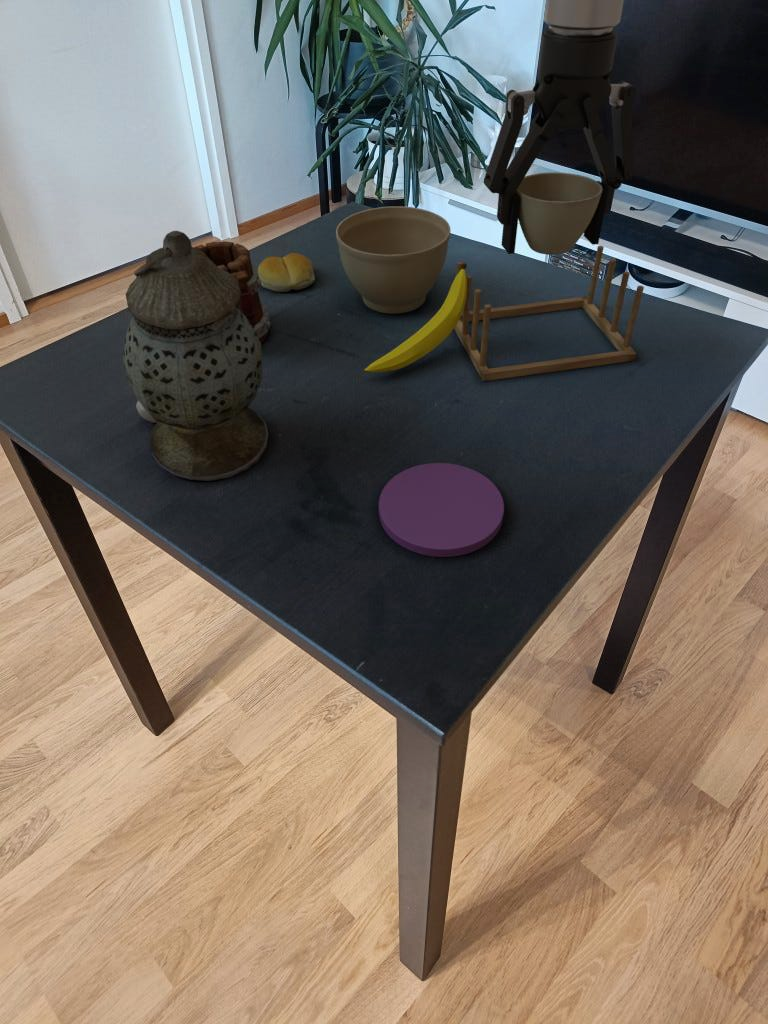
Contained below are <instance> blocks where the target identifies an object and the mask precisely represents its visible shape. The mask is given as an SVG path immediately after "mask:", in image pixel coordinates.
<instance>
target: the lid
mask: <svg viewBox="0 0 768 1024" xmlns="http://www.w3.org/2000/svg"><path fill="white" fill-rule="evenodd" d="M504 515H505V504H504V498H503V496H502V494H501V492H500V490H499V488H498V487H497V486H496V485H495V483H493V481H492V480H491V479H489V478H488V477H486V476H485V475H484V474H482V473H480V472H479V471H477V470H474V469H472V468H470V467H467V466H463V465H460V464H455V463H446V462H432V463H431V462H430V463H424V464H423V463H422V464H419V465H415V466H412V467H410V468H409V467H408V468H406V469H404V470H402V471H401V472H399V473H397V474H396V475H395V476H393V477H392V478H391V479H390V480H388V482H387V483H386V484H385V485H384V486H383V488H382V490H381V493H380V495H379V499H378V516H379V522H380V524H381V527H382V528H383V530H384V532H385V533H386V534H387V536H388V537H389V538H390V539H391V540H392V541H394V542H395V543H396V544H397V545H399V546H400V547H402V548H404V549H405V550H408V551H410V552H413V553H416V554H419V555H423V556H427V557H433V558H453V557H459V556H463V555H464V556H465V555H469V554H471V553H473V552H476V551H478V550H480V549H482V548H483V547H485V546H486V545H488V544H489V543H490V542H492V540H493V539H494V538H495V537H496V536H497V534H499V532H500V530H501V527H502V525H503V522H504V521H503V520H504Z"/></svg>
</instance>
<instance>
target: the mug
mask: <svg viewBox="0 0 768 1024" xmlns="http://www.w3.org/2000/svg"><path fill="white" fill-rule="evenodd" d="M194 248H197V249H199V250H200V251H202V252H203V253H204V254H205V255H206V256H207V257H208V258H209V259H210V260H211V261H212V262H213V263H214V264H215V265H216V266H217V267H219V268H220V269H222V270H224V271H226V272H228V273H230V274H231V275H232V276H233V277H234V278H235V279H236V280H237V281H238V284H239V287H240V291H241V298H240V302H239V305H238V306H237V307H236V308H237V309H239V310H240V311H241V312H242V313H243V314H244V315H245V317H246V318H247V320H248V321H249V323H250V324H251V326H252V328H253V330H254V331H255V333H256V335H257V337H258V339H259V341H260V343H261V344H262V343H263V342H264V341H265V340H266V338H267V336H268V333H269V329H270V327H271V321H270V316H269V309H268V307H265V306H264V305H263V304H262V303H261V299H260V294H259V291H258V290H259V289H260V287H261V286H262V285H261V281H260V278H259V274H258V267H255V266H254V265H253V264H252V260H251V259H252V258H251V255H250V250H249V249H248V248H247V247H246V246H245V245H243V244H241V243H235V242H232V241H226V240H225V241H224V240H223V241H210V242H206V244H205V246H204V245H203V244H199V245H196V246H194Z"/></svg>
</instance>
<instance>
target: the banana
mask: <svg viewBox="0 0 768 1024" xmlns="http://www.w3.org/2000/svg"><path fill="white" fill-rule="evenodd" d="M467 267H468V265H467V263H466V262H463V264H462V269H461V270H460V272H459V273H458V274H457V273H456V276H455V278H454V280H452V281H453V282H452V283H451V286H450V289H449V291H448V292H447V296H446V298H445V300H444V302H443V303H442V305H441V307H440V308H439V310H438V311H437V312H436V313H435V314H434V315H433V317H431V318H430V320H428V322H426V323H425V324H424V325H423V326H422V327H421V328H420V329H418V331H416V332H415V333H414V334H413V335H411V336H410V337H409V338H407V339H406V340H404V341H403V342H401V344H399V345H398V346H396V347H395V348H393V349H392V350H391V351H390V352H388V353H386V354H384V355H383V356H381V357H379V358H378V359H376V360H375V361H373V362H372V363H370V364H369V365H368V366H367V367H366V368H364V369H363V371H364V372H368V373H384V372H385V373H386V372H391V371H392V372H393V371H397V370H399V369H402V368H405V367H407V366H409V365H410V364H412V363H415V362H416V361H418V360H419V359H421V358H423V357H424V356H426V355H428V354H429V353H430V352H431V351H434V349H436V348H437V347H438V346H439V345H441V344H442V343H443V342H444V341H445V340H446V339H447V338H448V336H450V334H451V333H452V332H453V330H454V328H455V326H456V325H457V323H458V321H459V319H460V317H461V315H462V312H464V306H465V301H466V294H467V277H466V276H467V271H466V269H467Z"/></svg>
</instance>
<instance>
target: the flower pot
mask: <svg viewBox="0 0 768 1024" xmlns="http://www.w3.org/2000/svg"><path fill="white" fill-rule="evenodd" d="M597 181H598V180H595V179H594V178H592V177H589V176H585V175H583V174H582V175H581V174H576V173H569V172H556V171H555V172H554V171H553V172H552V171H551V172H550V171H549V172H538V173H532V174H528V175H525V177H524V179H523V180H522V182H521V184H520V185H519V187H518V189H517V190H516V193H517V194H518V196H519V197H520V207H519V216H518V224H519V225H520V229H521V232H522V234H523V237H524V239H525V241H526V243H527V245H528V247H529V248H530V249H531V250H532V251H533V252H536V253H538V254H542V255H548V256H556V255H563V254H566V253H568V252H570V251H571V250H572V249H573V248H574V247H575V245H576V244H577V242H578V241H579V240H580V239H581V237H582V236H583V235H584V231H585V230H586V228H587V226H588V225H589V223H590V221H591V219H592V217H593V215H594V213H595V211H596V208H597V206H598V203H599V200H600V197H601V194H602V186H601V184H600V183H598V182H597Z"/></svg>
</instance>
